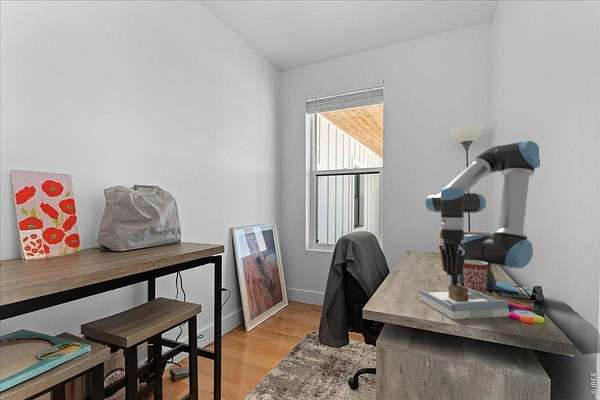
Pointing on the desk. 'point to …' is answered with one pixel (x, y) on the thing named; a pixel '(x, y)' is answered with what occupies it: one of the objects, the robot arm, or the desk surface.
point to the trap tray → (466, 305)
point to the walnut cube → (458, 293)
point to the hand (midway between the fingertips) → (452, 292)
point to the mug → (475, 275)
